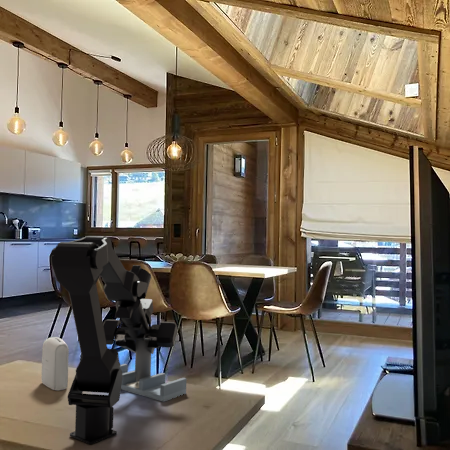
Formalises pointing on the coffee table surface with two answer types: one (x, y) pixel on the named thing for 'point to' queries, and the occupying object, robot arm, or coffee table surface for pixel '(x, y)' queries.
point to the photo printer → (55, 363)
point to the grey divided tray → (152, 385)
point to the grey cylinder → (142, 360)
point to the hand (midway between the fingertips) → (144, 351)
